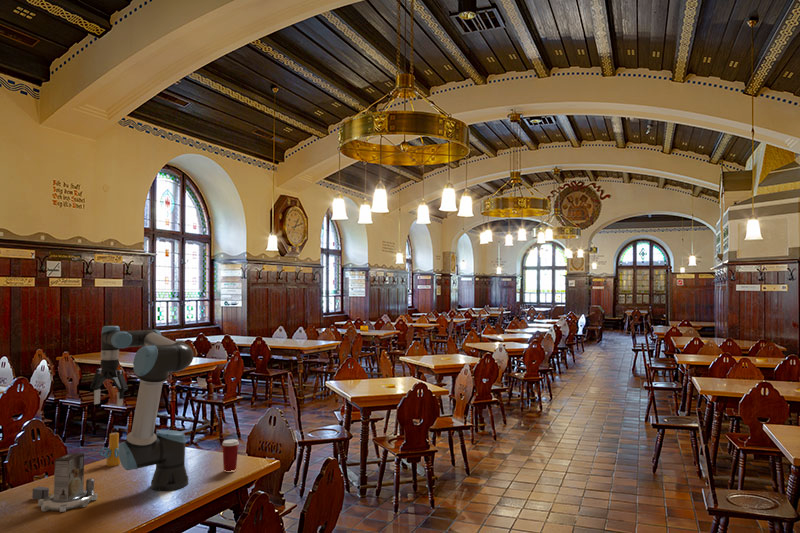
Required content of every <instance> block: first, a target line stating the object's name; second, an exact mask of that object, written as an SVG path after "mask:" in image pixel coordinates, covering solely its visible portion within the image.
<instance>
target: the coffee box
mask: <svg viewBox="0 0 800 533" xmlns="http://www.w3.org/2000/svg"><path fill="white" fill-rule="evenodd" d="M84 472H85V453H78V452H76V453H75V452H74V453H71V452H70V453H68V454H65V455H63V456H61V457H58V458H56V459H54V473H53V474H54V476H53V477H54V478H53V479H54V480H53V493H54V501H69V500H71V499H73V498H75V497H77V496H78V495H80V494H82V493H83V490H84V478H85V473H84Z"/></svg>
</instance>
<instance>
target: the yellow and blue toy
mask: <svg viewBox="0 0 800 533" xmlns="http://www.w3.org/2000/svg"><path fill="white" fill-rule="evenodd" d="M119 439H120V433H119V432H111V433H109V440H108V441H109V442H108V443H109V445H108V446H109V448H108V447H102V448H101V449H100V450H99V455H100V456H101V457H104V458H105V459H106V466H107V467H117V466H120V464H121V462H120V459H119V452H118V449H119V445H120V443H119ZM104 450H105V451H104ZM102 451H104V454H103V453H102Z"/></svg>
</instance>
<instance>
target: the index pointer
mask: <svg viewBox="0 0 800 533" xmlns="http://www.w3.org/2000/svg"><path fill="white" fill-rule="evenodd" d="M49 494H50V488H49V487H46V486H41V485H40V486H37V487H34V488H32V496H31V497H32V498H33V499H32V500H36V499H37V501H39V499H45V498H46V497H48V496H49Z"/></svg>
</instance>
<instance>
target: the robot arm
mask: <svg viewBox="0 0 800 533" xmlns="http://www.w3.org/2000/svg"><path fill="white" fill-rule="evenodd" d="M100 335H101V337H100V338H101V342H100V345H101V346H100V359H101V360H100V365H99V366H100V368H96V369H95V375H94V376H93V379H92V380H91V383H90V385H89V389H91V390H93V394H92V395H93V405H99V404H101V386H102V385H103V384H104V382H105V381H106V380H111V381H112V382H113V384H114V385H115V388H116V390H118V391H117V392H116V407H121V406H123V404H124V399H125V391H128V390H129V387H128V384H127V381H126V379H125V376H124V370H123V369H118V367H119V365H120V364H119V362H120V360H119V358H120V349H126V348H137V347H140V348H139V349H138V350H137V351H136V353H135V354H134V357H133V363H132V364H133V367H132V368H133V372H134V374H135V375H136V376H137V379H138V380H139V388H138V391H137V392H138V394H137V399H136V402H135V403H136V405H135V410H134V415H133V421H132V426H131V427H132V428H131V432H129V433H128V434H127V435H126V437H125V441H122V442H120V443H119V447H118V452H119V459H120V464H121V466H122V468H123V469H124V470H125V471H132V470H138V469H142V468H147V467H150V466H154V465H155V470H154V473H153V476H152V479H151V480H150V488H151V489H152V490H154V491H159V492H165V491H175V490H178V489H182V488H184V487H186V486H188V484H189V476H188V473H187V469H186V466H185V460H186V435H185V433H184V432H183V431H181V430H180V431H179V430H171V429H169V430H165V429H163V430H159V431H157V432H156V433H155V427H156V423H157V417H158V410H159V406H160V401H161V400H160V399H161V395H162V391H163V390H162V388H163V384H164V382H166V381H167V380H168V378H169V374H170V373H176V372H181V371H184V370H185V369H187V368H188V367H189V366H190V365H191V363H192V362H193V359H194V356H195V355H194V350H193V349H192V347H191V345H188V344H187V343H184V342H182V341H175V340H172V339H170V338H167V337H165V336H163V335H162V333H161V331H160V330H159V329H143V330H142V329H141V330H123V331H122V330H121V328H120V326H119V325H104V326H102V328H101V334H100Z"/></svg>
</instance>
